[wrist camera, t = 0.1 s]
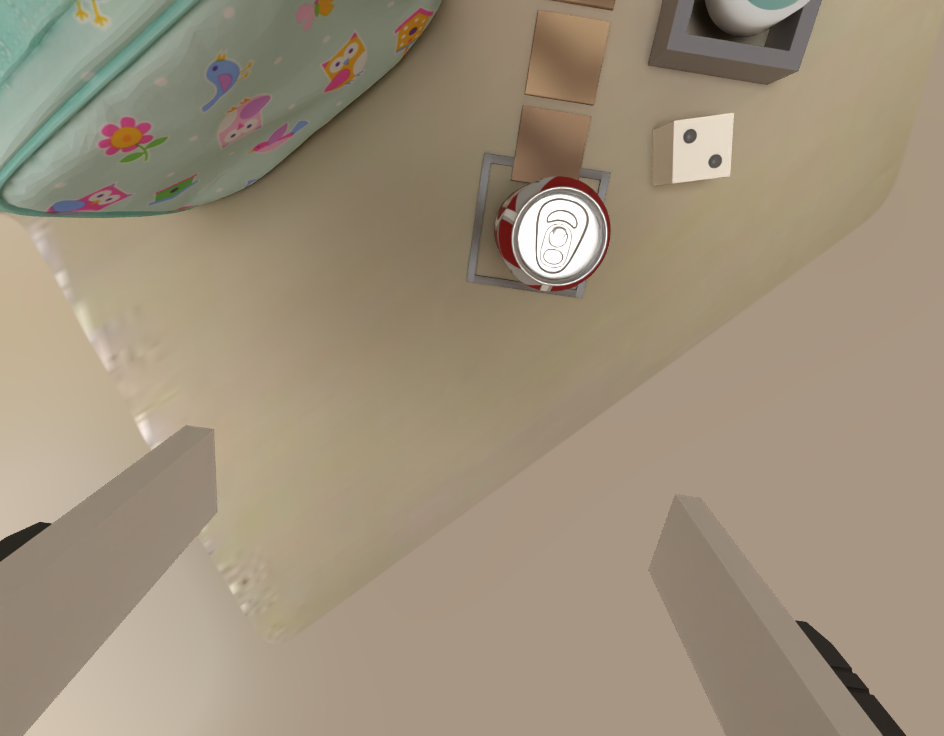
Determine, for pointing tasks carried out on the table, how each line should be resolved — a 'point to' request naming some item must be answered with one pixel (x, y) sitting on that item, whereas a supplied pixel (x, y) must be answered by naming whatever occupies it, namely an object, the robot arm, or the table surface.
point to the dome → (750, 14)
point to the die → (693, 149)
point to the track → (553, 115)
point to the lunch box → (177, 94)
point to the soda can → (553, 233)
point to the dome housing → (731, 46)
